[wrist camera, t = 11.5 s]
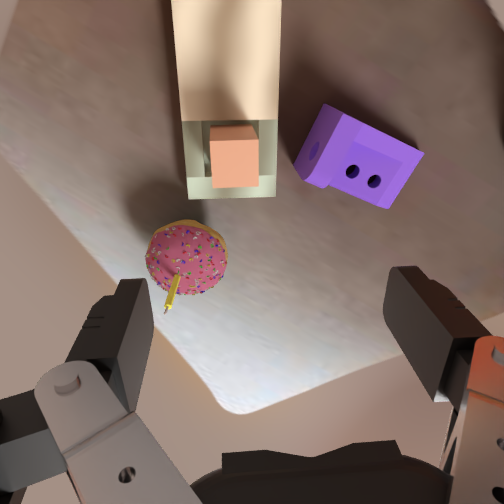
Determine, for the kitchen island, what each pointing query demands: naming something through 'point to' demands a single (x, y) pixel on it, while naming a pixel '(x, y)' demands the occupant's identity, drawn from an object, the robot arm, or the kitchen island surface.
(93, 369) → the robot arm
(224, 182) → the salmon orange rectangular block
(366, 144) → the bracket
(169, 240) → the cupcake
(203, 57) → the rail
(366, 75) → the kitchen island surface
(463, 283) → the kitchen island surface
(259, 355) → the kitchen island surface
